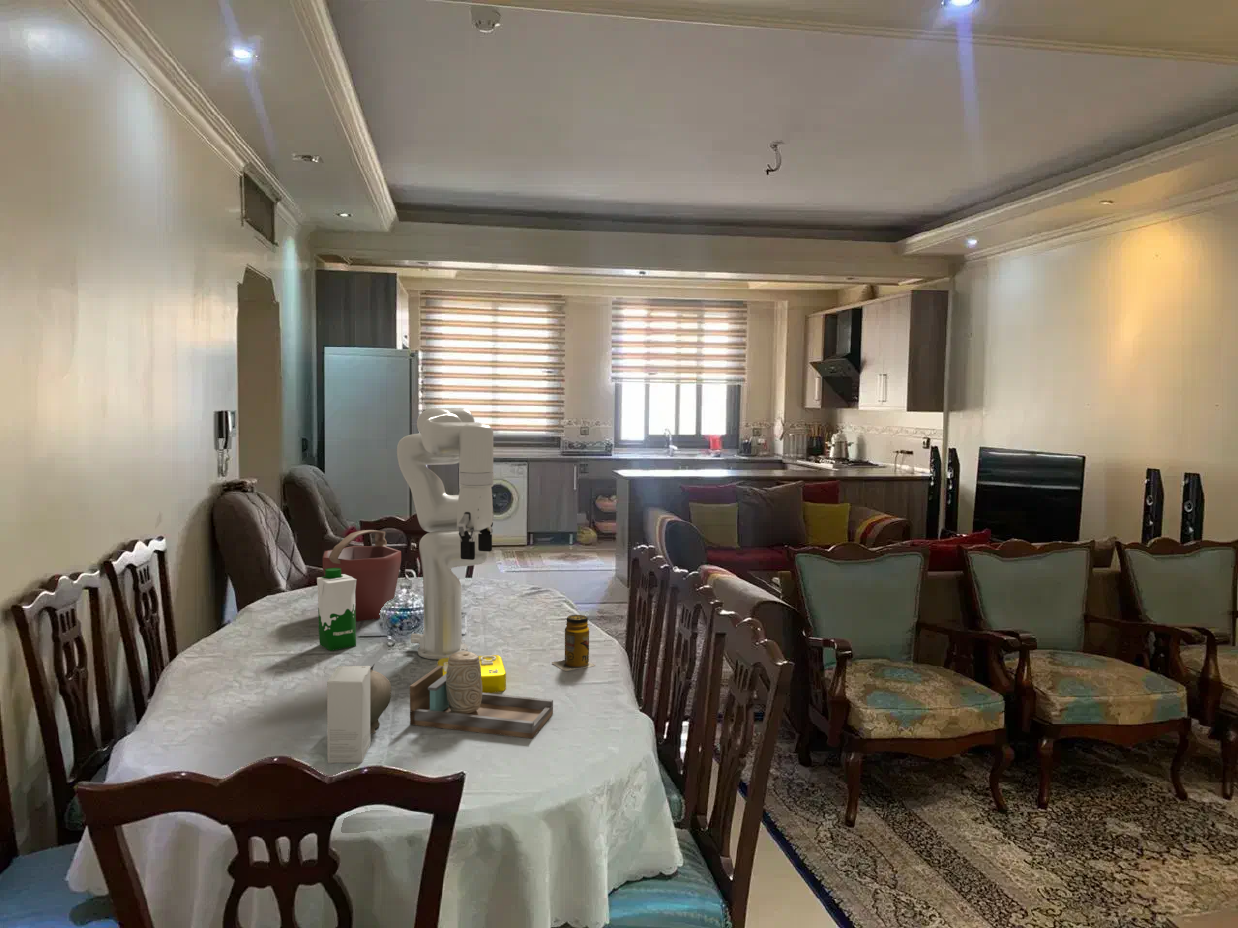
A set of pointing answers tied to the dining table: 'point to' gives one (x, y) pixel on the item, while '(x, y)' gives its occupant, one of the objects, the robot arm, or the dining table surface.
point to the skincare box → (348, 714)
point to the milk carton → (336, 610)
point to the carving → (464, 682)
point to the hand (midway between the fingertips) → (476, 554)
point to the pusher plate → (438, 695)
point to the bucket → (367, 571)
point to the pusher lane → (481, 712)
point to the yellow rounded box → (487, 673)
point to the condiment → (576, 644)
